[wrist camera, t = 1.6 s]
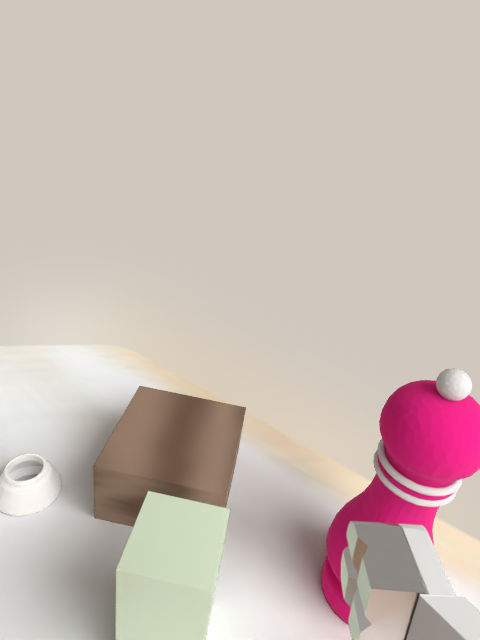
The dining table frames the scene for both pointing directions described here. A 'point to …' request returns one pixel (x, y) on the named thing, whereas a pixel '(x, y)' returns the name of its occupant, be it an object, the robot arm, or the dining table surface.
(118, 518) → the walnut block
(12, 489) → the white hollow cone
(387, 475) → the pepper mill
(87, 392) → the dining table surface
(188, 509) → the sage block
